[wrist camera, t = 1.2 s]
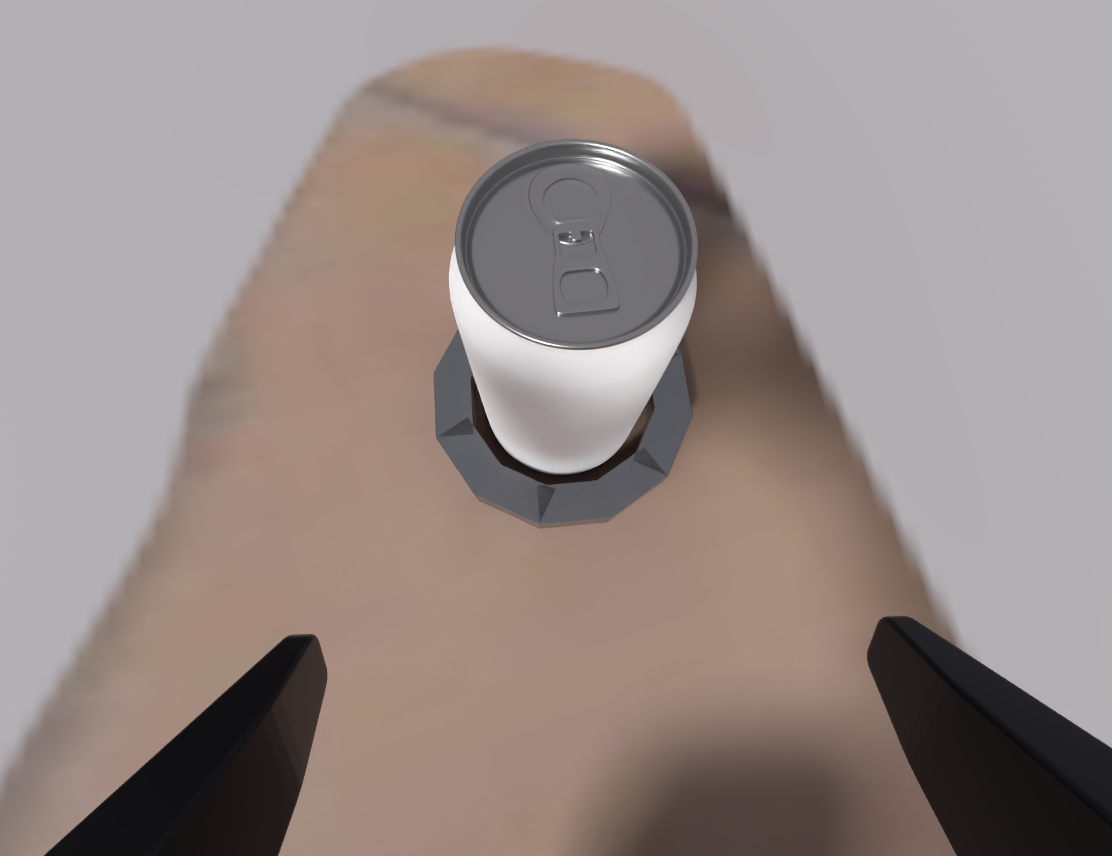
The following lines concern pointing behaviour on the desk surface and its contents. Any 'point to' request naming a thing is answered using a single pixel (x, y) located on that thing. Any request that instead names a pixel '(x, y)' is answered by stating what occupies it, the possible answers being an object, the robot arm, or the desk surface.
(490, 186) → the can
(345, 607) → the desk surface
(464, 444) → the collar
